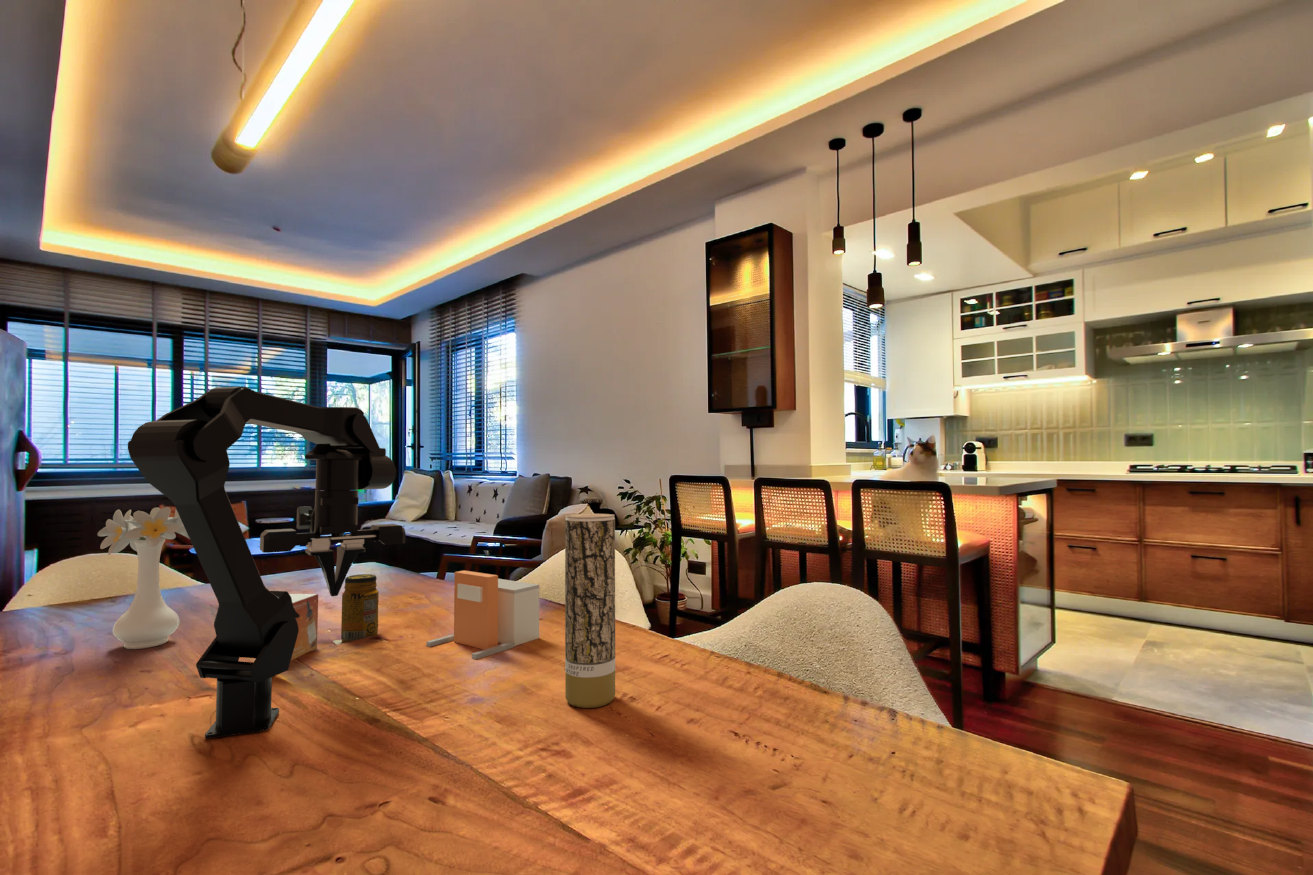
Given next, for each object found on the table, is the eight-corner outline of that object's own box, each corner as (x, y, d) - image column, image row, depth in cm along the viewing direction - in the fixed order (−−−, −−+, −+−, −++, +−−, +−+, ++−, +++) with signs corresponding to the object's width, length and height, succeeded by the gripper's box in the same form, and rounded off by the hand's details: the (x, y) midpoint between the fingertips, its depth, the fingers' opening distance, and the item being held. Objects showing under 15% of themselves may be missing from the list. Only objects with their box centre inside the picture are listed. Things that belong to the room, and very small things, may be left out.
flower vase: (147, 631, 120) (151, 503, 121) (213, 639, 114) (217, 504, 115) (65, 650, 108) (70, 507, 109) (134, 660, 102) (139, 509, 103)
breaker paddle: (485, 651, 100) (486, 577, 101) (451, 642, 106) (452, 572, 106) (497, 647, 102) (498, 575, 103) (463, 639, 108) (464, 570, 108)
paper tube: (607, 711, 79) (607, 517, 80) (557, 707, 80) (558, 517, 82) (621, 692, 86) (620, 513, 87) (574, 689, 87) (574, 513, 88)
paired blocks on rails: (448, 679, 92) (448, 606, 92) (394, 662, 100) (395, 595, 100) (544, 646, 108) (544, 584, 108) (492, 634, 116) (492, 577, 116)
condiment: (374, 635, 116) (375, 571, 117) (387, 644, 110) (388, 577, 110) (332, 642, 112) (333, 576, 112) (343, 652, 105) (344, 582, 106)
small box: (289, 671, 96) (290, 603, 96) (253, 671, 96) (255, 603, 96) (318, 655, 104) (319, 592, 104) (285, 655, 104) (287, 593, 104)
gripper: (388, 488, 104) (386, 581, 103) (258, 490, 93) (254, 595, 92) (407, 489, 95) (405, 591, 94) (265, 492, 84) (261, 607, 83)
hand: (334, 595), depth 91 cm, fingers closed
